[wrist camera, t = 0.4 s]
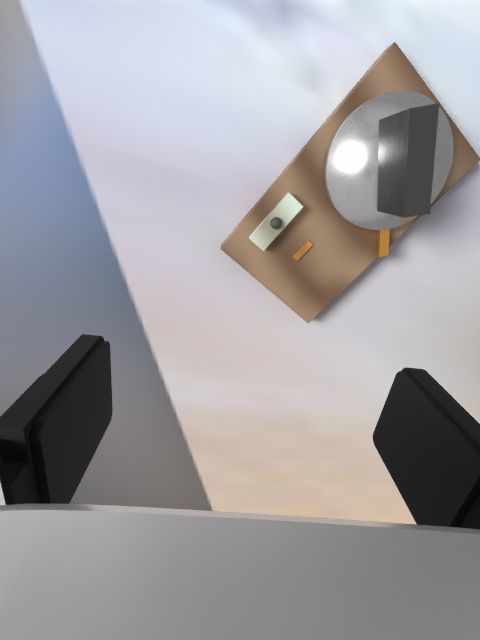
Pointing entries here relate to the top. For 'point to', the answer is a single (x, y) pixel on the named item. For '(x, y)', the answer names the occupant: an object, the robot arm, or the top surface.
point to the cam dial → (388, 162)
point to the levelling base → (325, 208)
